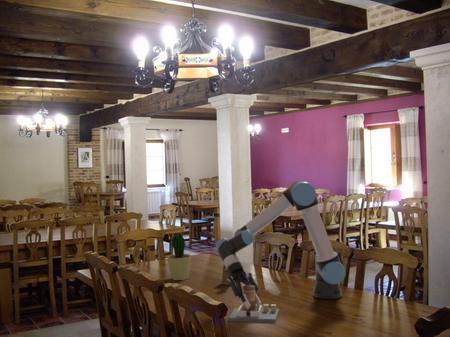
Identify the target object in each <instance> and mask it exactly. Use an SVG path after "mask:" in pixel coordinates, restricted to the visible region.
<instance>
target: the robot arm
mask: <svg viewBox="0 0 450 337" xmlns="http://www.w3.org/2000/svg"><path fill="white" fill-rule="evenodd" d="M318 206H319V201H318V197H317V191H316V188H315V187H314V185H313V184H311V183H310V182H308V181H303V180H297V181H295V182H292V184H291V185H289V187H288V188H286V189H285V190H284V191H283V192H281V196H280V197H278V198H277V199H276V200H275V201H273V202H272V203H271V204H270V205H268V206H267V207H266V208H264V209H263V210H262V211H261V212H260V213H258V214H257V215H256V216H254V217H253V218H252V219H250V220H249V221H248V222H247V223H245V225H243V226H241V227H240V228H238V229H236V231H235V232H234V235H233V237H232V238H230V239H228V238H227V237H223V238H220V239H219V240H217V241H216V243H215V249H216V251H217V253H218V254H219V257H220V259H221V261H222V263H223V265H225V267H226V269H227V271H228V273H229V275H230V276H231V277H229V278H228V279H227V281H228V282H229V284H230V285H229V286H230V287H231V290H232V291H233V295H234V297H236V298H238V299H240V300H241V302H242V303H243V304H244V303H245V305H246V307H247V309H249V307H250V306H251V305H250V303H249V301H248V299H247V297H246V295H245V294H243V286H242V284H243V285H244V286H245V285H254V286H255V300H256V305H257V306H260V305H262V300H260V295H259V294H258V291H259V290H260V288H259V286H258V284H257V283H256V281H255V279H254V278H253V274H252V273H251V272H248V273H247V272H246V271H244V268H243V264H242V263H241V261H240V259H239V257H238V256H237V253H238V252H239V251H241V250H243V249H245V248H247V247H249V246H250V245H251V244H253V243H254V242H255V238H254V236H256V235H257V234H258V233H260V232H261V231H263V229H264V228H266V227H267V226H268V225H270V224H271V223H272V222H273V221H274V220H276V219H278V217H280V216H281V215H282V214H284V213H285V212H286V211H288V209H290V208H292V209H293V208H294V207H295V209H296V211H297V213H300V214H301V216H302V219H303V221H304V225H305V228H306V230H307V232H308V235H309V238H310V240H311V242H312V243H311V244H312V246H313V249H314V251H315V254H314V264H315V265H314V266H315V267H314V268H315V270H314V271H315V283H314V287H313V290H312V295H313V297H315V299H319V300H320V299H321V300H336V299H340V298H341V297H342V296H343V295H342V294H343V292H342V289H341V286H340V283H341V282H342V281H343V280H344V278H345V277H346V269H345V266H344V264H342V262H341V259H340V256H339V254H338V252H336V251H334V248H333V246H332V243H331V240H330V238H329V235H328V233H327V230H326V227H325V225H324V223H323V219H322V217H321V214H320V211H319V209H318ZM233 280H234V281H235V283H236V284H235V283H234V281H233Z"/></svg>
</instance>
